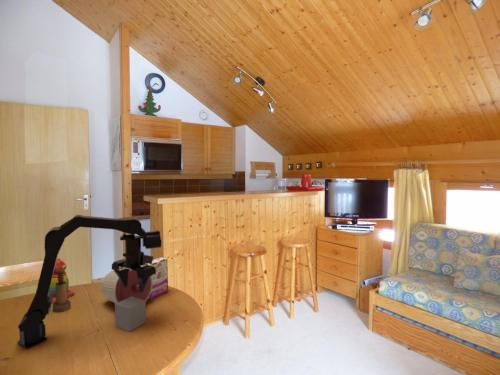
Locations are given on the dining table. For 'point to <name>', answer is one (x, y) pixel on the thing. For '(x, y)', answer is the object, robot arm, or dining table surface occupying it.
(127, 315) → the grey matte cube
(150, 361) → the dining table surface
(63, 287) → the brown turned post
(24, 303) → the dining table surface
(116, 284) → the canister
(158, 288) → the candy bar box
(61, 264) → the stacking bear
